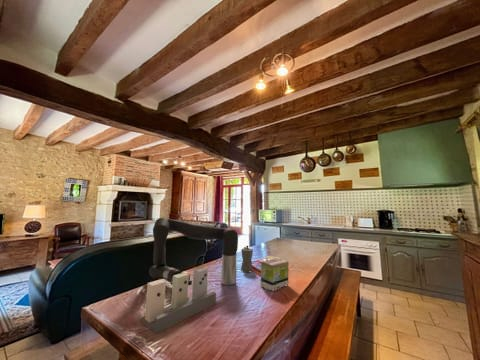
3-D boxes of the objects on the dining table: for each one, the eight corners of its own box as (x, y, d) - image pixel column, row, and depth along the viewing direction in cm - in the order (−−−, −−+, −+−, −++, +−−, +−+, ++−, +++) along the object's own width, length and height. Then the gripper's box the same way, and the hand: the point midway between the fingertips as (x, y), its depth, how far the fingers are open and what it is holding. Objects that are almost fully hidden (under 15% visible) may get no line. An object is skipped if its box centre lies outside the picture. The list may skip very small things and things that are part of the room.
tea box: (273, 292, 113) (273, 265, 115) (260, 286, 120) (260, 261, 122) (288, 285, 123) (288, 260, 124) (276, 281, 130) (276, 257, 132)
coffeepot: (255, 272, 145) (255, 247, 148) (242, 273, 143) (243, 247, 146) (249, 266, 160) (250, 243, 163) (238, 266, 158) (238, 243, 160)
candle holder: (281, 274, 143) (281, 257, 145) (277, 278, 134) (277, 260, 136) (268, 272, 147) (268, 255, 149) (264, 276, 138) (264, 258, 140)
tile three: (192, 298, 100) (193, 269, 102) (201, 294, 105) (202, 267, 107) (197, 301, 98) (199, 271, 99) (207, 297, 102) (208, 268, 104)
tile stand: (140, 320, 83) (141, 307, 84) (198, 295, 107) (199, 285, 107) (156, 333, 75) (157, 319, 75) (215, 303, 99) (216, 292, 99)
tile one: (144, 318, 82) (147, 283, 84) (158, 313, 86) (160, 279, 88) (150, 323, 79) (152, 285, 81) (163, 316, 84) (166, 281, 85)
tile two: (170, 307, 91) (172, 275, 93) (182, 303, 96) (183, 272, 97) (176, 311, 88) (178, 278, 90) (187, 306, 93) (189, 274, 95)
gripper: (181, 279, 121) (200, 287, 111) (161, 285, 111) (179, 294, 100) (182, 266, 122) (200, 272, 112) (162, 271, 112) (180, 279, 101)
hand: (190, 283), depth 106 cm, fingers closed
